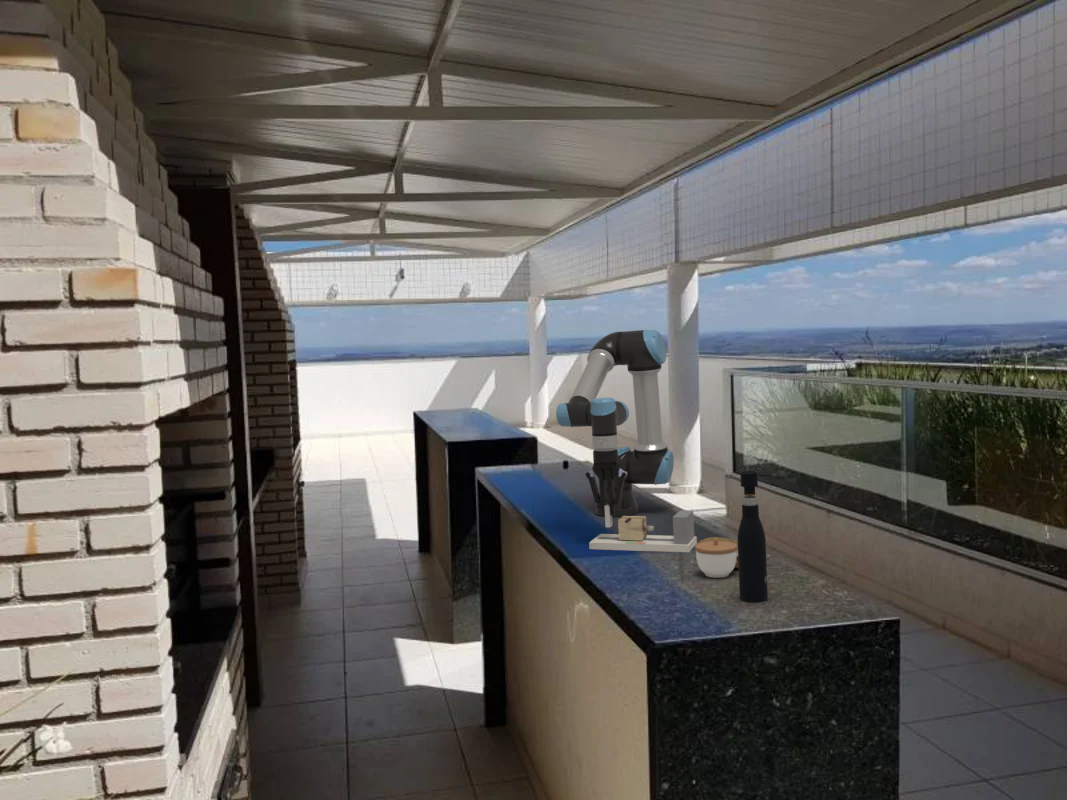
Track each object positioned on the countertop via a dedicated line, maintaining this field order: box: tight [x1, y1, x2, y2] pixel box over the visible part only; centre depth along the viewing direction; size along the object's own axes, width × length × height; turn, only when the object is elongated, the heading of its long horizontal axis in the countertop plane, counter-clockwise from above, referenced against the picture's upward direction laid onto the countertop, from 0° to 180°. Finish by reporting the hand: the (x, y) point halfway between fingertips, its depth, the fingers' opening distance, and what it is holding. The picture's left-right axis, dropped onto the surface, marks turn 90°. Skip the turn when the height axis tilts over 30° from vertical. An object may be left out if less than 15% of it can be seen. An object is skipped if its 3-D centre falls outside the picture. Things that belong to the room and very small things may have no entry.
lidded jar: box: [694, 539, 737, 579], centre depth 241 cm, size 11×11×9 cm
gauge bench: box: [588, 510, 698, 553], centre depth 278 cm, size 12×30×10 cm, turn 69°
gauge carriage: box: [617, 515, 655, 540], centre depth 277 cm, size 10×10×7 cm
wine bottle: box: [736, 470, 769, 603], centre depth 218 cm, size 6×6×30 cm
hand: (609, 526), depth 282 cm, fingers closed
